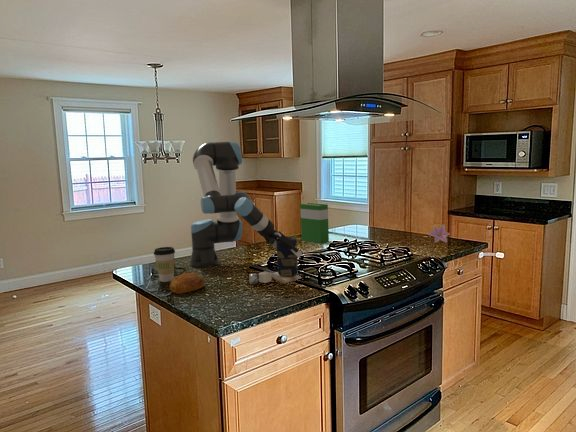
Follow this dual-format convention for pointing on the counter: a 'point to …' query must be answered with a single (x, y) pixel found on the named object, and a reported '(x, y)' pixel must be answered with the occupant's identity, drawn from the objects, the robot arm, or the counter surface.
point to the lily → (439, 233)
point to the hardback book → (314, 223)
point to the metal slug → (253, 278)
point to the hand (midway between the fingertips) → (291, 253)
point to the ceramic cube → (265, 277)
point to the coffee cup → (165, 263)
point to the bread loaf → (186, 283)
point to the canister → (286, 259)
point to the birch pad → (284, 277)
